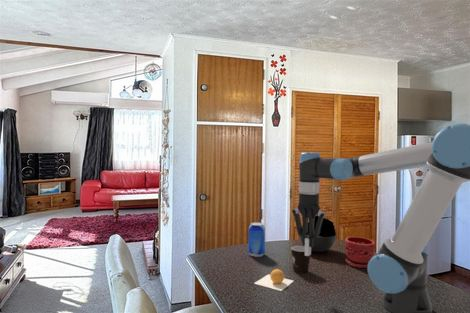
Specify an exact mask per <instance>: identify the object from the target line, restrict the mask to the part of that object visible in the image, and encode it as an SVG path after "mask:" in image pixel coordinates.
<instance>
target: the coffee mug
mask: <svg viewBox="0 0 470 313" xmlns="http://www.w3.org/2000/svg"><path fill="white" fill-rule="evenodd" d="M290 250H291V260H292V271H293V273H296V274H300V275H301V274H302V275H303V274H308V272H309V266H310V260H311V255H309V256H305V246H303V245H294V246H292V247H290Z"/></svg>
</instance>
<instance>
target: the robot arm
mask: <svg viewBox="0 0 470 313" xmlns="http://www.w3.org/2000/svg"><path fill="white" fill-rule="evenodd" d="M298 165H299V180H298V192H299V194H298V205H297V208H294V209H292V210H291V213H292V215H293V217H294V221H295V226H296V231H297V235H298V236H299V235H300V236H302V237H303V244H302V246H304V247H305V256H309V255H310V256H311V255H312V251H311V247H313V245H314V238H316V237H318V236H319V233H320V229H321V225H322V221H323V218H325V217H326V216H327V214H326V213H327V212H323V211H322V210H321V207H320V194H319V193H320V180H321V179H326V180H327V179H328V180H336V181H344V180H345V181H347V180H349V179H353V178H354V179H355V178H359V177H364V176H370V175H371V176H373V175H378V174H384V173H391V172H392V173H393V172H398V171H403V170H410V169H418V168H425V167H428V171H427V173H426V174H425V177H424V178H423V179H422V182H421V184H420V186H419V188H418V189H417V192H416V193H415V195H414V197H413V199H412V200H411V202H410V204H409V206H408V208H407V210H406V212H405V214H404V215H403V217H402V219H401V221H400V222H399V225H398V227H397V228H396V230H395V231H394V234H393V236H392V237H389V238H385V239H384V241H383V243H382V244H381V247H380V248H379V250H378V252H377V254H374V255H373V257H372V258H371V260H370V261H369V263H368V267H367V274H368V276H369V279H370V281H371V282H372V284H373V285H374V286H375V287H376V288H377V289H379V290H380V291H382V292H383V295H382V303H381V304H382V307H383V308H385V309H386V310H387V311H389V312H390V313H433V305H432V301H431V299H430V295H429V293H428V288H427V285H428V283H427V282H428V256H429V253H428V247H427V245H428V242H429V241H430V239H431V237H432V235H433V234H434V232H435V230H436V229H437V227H438V225H439V224H440V221H441V220H442V219H443V216H444V215H445V213H446V211H447V209H448V208H449V206H450V205H451V203H452V201H453V199H454V197H455V196H456V194H457V192H458V190H459V189H460V187H461V185H462V184H464V183H467V182H470V124H469V123H455V124H452V125H447V126H446V127H443V128H442V129H441V130H439V131H438V132H437V133H436V134H435V136H434V138H433V139H432V141H431V142H425V143H424V142H423V143H420V144H414V145H410V146H406V147H400V148H396V149H395V148H394V149H389V150H384V151H379V152H375V153H370V154H364V155H359V156H353V157H347V158H345V157H344V158H343V157H342V158H341V157H340V158H339V157H331V158H330V157H321V154H320V153H319V152H306V151H305V152H301V153H300V156H299V162H298ZM300 214H301V216H302V217H301V216H300ZM317 215H318V216H319V218H318V220H317V224H316V228H315V232H314V220H315V216H317ZM301 219H302V220H301ZM308 222H309V237H307V236H308Z"/></svg>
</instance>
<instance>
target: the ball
mask: <svg viewBox="0 0 470 313" xmlns="http://www.w3.org/2000/svg"><path fill="white" fill-rule="evenodd" d="M269 275H270V277H271V280H272V281H273V282H274V283H276V284H279V283H281V282H282V281H283V280H284V278H285V274H284V272H283V271H282V269H278V268H276V269H273V270H272V271H271V272H270V274H269Z"/></svg>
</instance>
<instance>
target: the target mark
mask: <svg viewBox="0 0 470 313" xmlns="http://www.w3.org/2000/svg"><path fill="white" fill-rule="evenodd" d="M270 275H271V274H270V273H269V274H267V275H265V276H263V277H261V278H260V279H258V280H256V281H255V282H254V283H253V284H254V285H257V286H260V287H264V288H268V289H271V290H275V291H279V292H282V291H284V290H285V289H286V288H287V287H289V286H290V285H292V284H293V283H294V282H295V281H294V280H292V279H288V278H286V277H284V280H283V281H282V282H281V283H279V284H276V283H274V282H273V281H272V280H271V277H270Z"/></svg>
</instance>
